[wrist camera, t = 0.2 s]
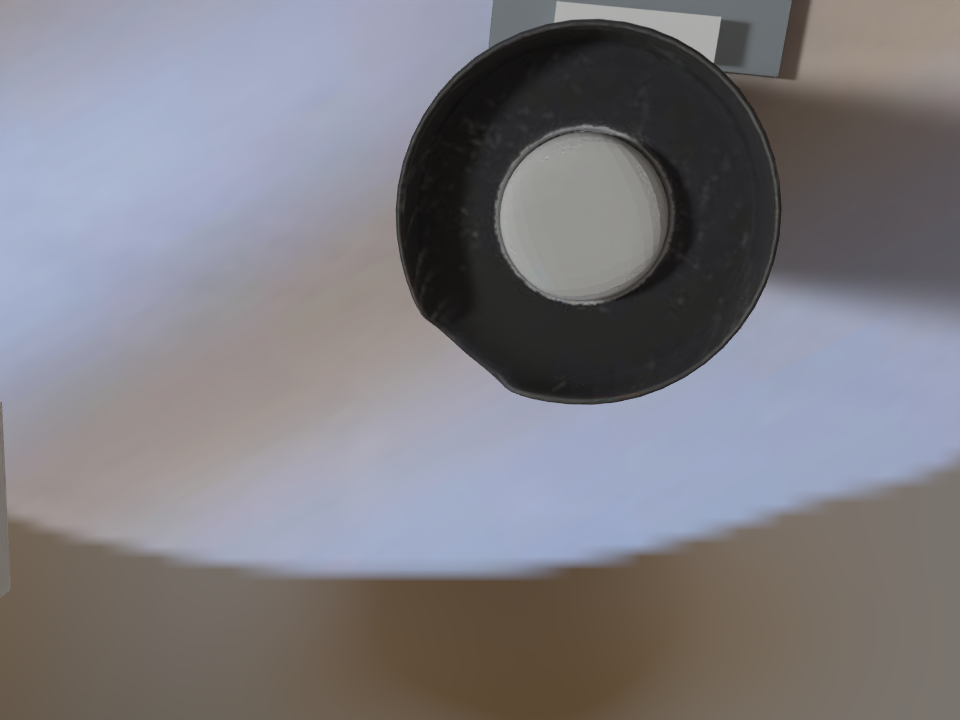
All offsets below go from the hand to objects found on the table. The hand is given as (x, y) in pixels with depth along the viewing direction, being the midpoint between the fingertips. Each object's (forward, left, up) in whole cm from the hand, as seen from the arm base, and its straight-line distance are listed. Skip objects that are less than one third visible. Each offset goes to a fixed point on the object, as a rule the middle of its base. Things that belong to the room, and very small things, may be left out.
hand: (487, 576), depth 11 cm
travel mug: (-4, 0, -28) cm, 28 cm away
